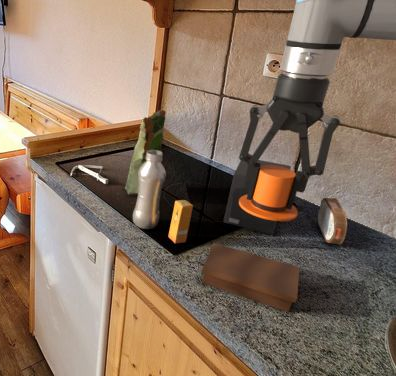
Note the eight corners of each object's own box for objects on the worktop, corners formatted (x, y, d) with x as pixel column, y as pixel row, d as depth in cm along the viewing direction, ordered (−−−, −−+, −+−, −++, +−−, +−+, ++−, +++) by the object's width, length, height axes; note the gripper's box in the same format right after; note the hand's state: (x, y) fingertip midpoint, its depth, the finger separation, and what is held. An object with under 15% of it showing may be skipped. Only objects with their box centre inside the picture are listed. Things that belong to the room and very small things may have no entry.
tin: (341, 251, 95) (353, 220, 92) (326, 248, 96) (337, 217, 93) (326, 221, 108) (335, 193, 105) (312, 219, 109) (322, 191, 106)
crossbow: (62, 173, 135) (62, 167, 135) (92, 166, 141) (92, 160, 141) (90, 188, 123) (90, 182, 122) (122, 180, 129) (122, 174, 128)
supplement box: (187, 242, 97) (194, 205, 93) (174, 244, 96) (181, 207, 92) (180, 235, 100) (186, 199, 96) (167, 236, 99) (173, 200, 95)
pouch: (153, 184, 127) (164, 105, 116) (167, 201, 116) (181, 116, 106) (119, 185, 126) (127, 106, 115) (130, 203, 115) (139, 117, 104)
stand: (294, 282, 84) (299, 267, 82) (291, 314, 75) (297, 297, 74) (210, 257, 92) (213, 242, 90) (199, 283, 83) (202, 267, 81)
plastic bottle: (138, 216, 108) (147, 145, 99) (162, 224, 104) (173, 152, 96) (127, 226, 103) (135, 152, 95) (151, 235, 100) (162, 159, 91)
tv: (277, 212, 112) (291, 165, 106) (272, 236, 101) (287, 185, 95) (232, 201, 117) (242, 156, 112) (222, 222, 106) (233, 174, 100)
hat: (298, 204, 78) (309, 168, 75) (295, 226, 70) (308, 187, 67) (242, 191, 82) (251, 157, 79) (234, 211, 74) (244, 174, 71)
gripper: (238, 71, 67) (212, 196, 77) (378, 85, 58) (328, 224, 68) (245, 66, 73) (219, 182, 83) (372, 78, 64) (327, 206, 74)
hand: (269, 201), depth 75 cm, fingers closed on hat, 6 cm apart
